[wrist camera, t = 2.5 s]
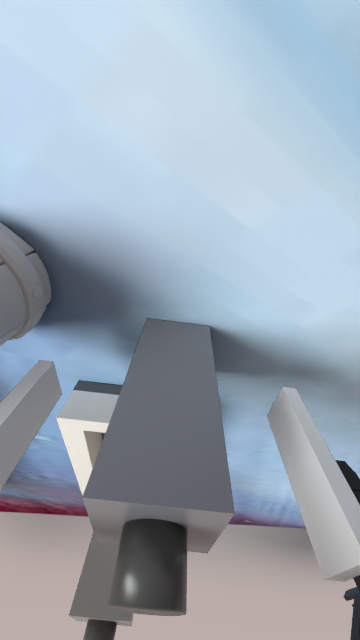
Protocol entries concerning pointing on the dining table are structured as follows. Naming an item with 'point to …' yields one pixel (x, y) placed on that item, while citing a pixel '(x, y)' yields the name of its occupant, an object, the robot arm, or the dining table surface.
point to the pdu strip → (86, 424)
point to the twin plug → (98, 593)
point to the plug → (161, 469)
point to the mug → (20, 286)
